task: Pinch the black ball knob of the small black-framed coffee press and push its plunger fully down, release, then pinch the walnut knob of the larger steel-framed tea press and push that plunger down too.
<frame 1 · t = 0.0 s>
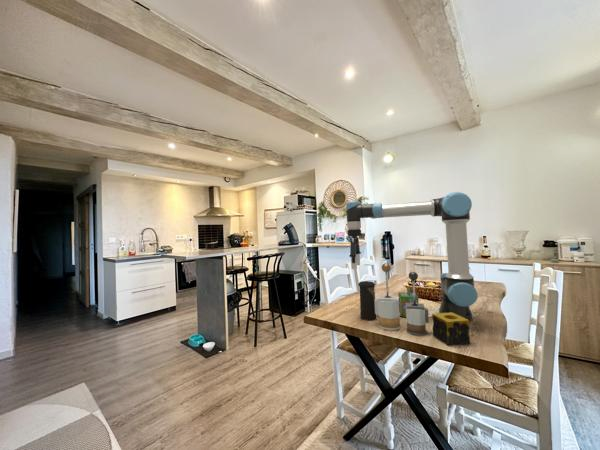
hand: (356, 267, 138), 28 cm above the table, fingers open, 13 cm apart
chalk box: (409, 315, 137), on the table
plunger large: (386, 280, 124), point 23 cm above the table, slide at 0.0 cm
dark box with hole: (450, 340, 106), on the table
container: (368, 318, 135), on the table
press large: (389, 326, 123), on the table
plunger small: (414, 289, 116), point 20 cm above the table, slide at 0.0 cm
press small: (416, 331, 115), on the table
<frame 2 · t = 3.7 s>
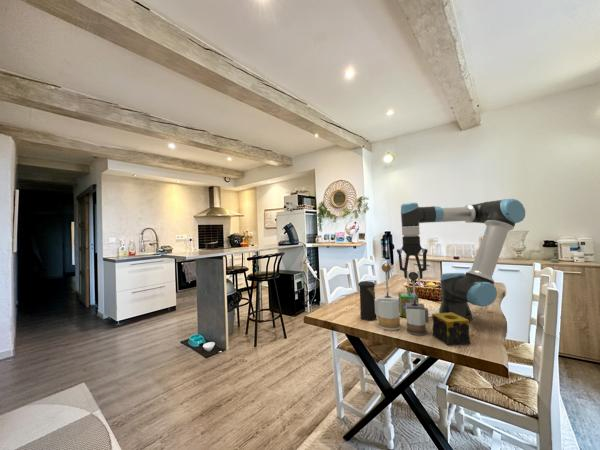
hand: (413, 285, 116), 22 cm above the table, fingers closed on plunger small, 4 cm apart
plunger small: (414, 289, 116), point 20 cm above the table, slide at 0.0 cm, touching gripper
everything else where it was.
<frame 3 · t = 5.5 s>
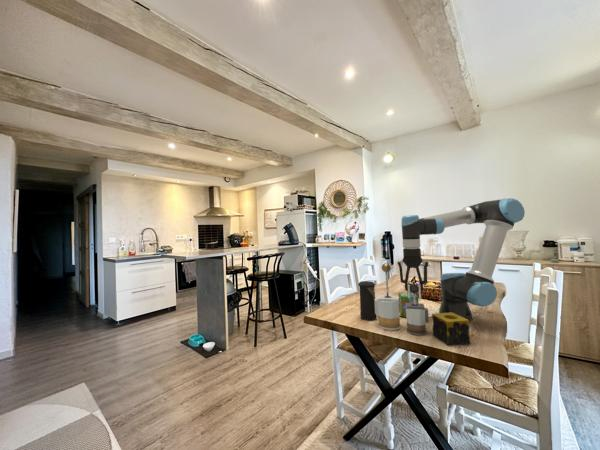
hand: (414, 297, 115), 16 cm above the table, fingers closed on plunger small, 4 cm apart
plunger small: (414, 301, 115), point 14 cm above the table, slide at 5.8 cm, touching gripper
everything else where it was.
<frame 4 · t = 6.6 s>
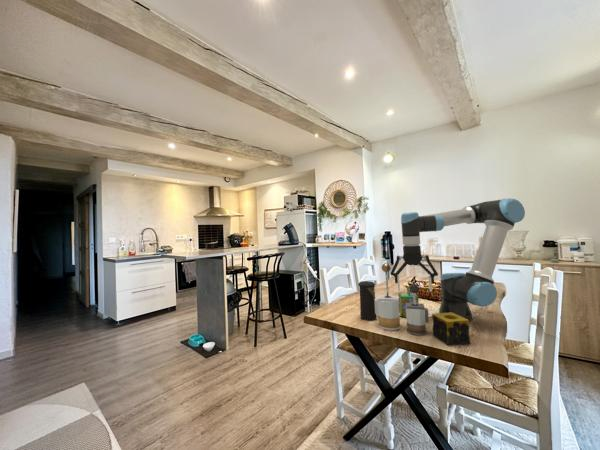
hand: (414, 290, 116), 19 cm above the table, fingers open, 13 cm apart
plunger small: (414, 301, 115), point 14 cm above the table, slide at 5.8 cm
everything else where it was.
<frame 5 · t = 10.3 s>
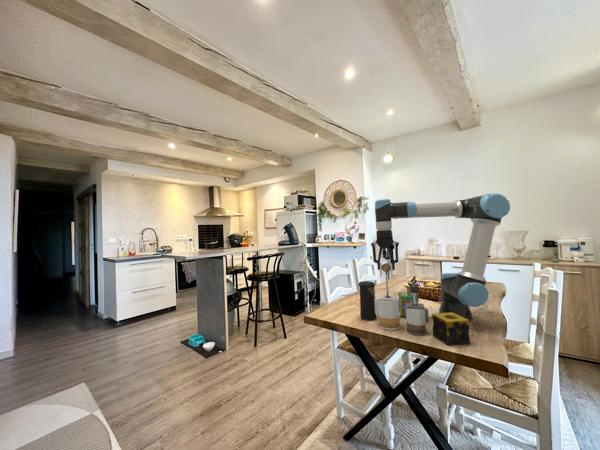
hand: (386, 276, 124), 25 cm above the table, fingers closed on plunger large, 4 cm apart
plunger large: (386, 281, 124), point 23 cm above the table, slide at 0.0 cm, touching gripper
everything else where it was.
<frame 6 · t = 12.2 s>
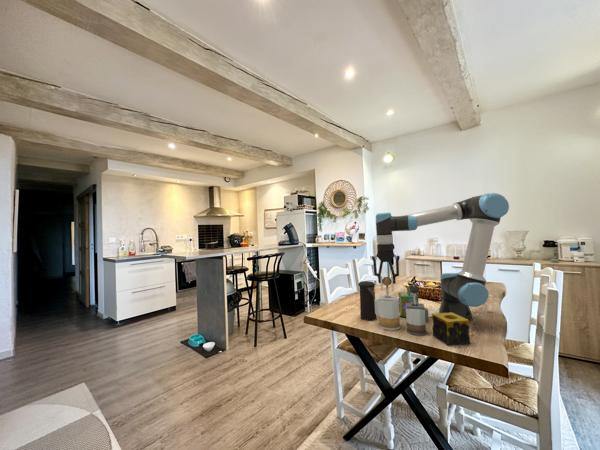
hand: (387, 289, 123), 18 cm above the table, fingers closed on plunger large, 4 cm apart
plunger large: (387, 294, 123), point 16 cm above the table, slide at 6.8 cm, touching gripper
everything else where it was.
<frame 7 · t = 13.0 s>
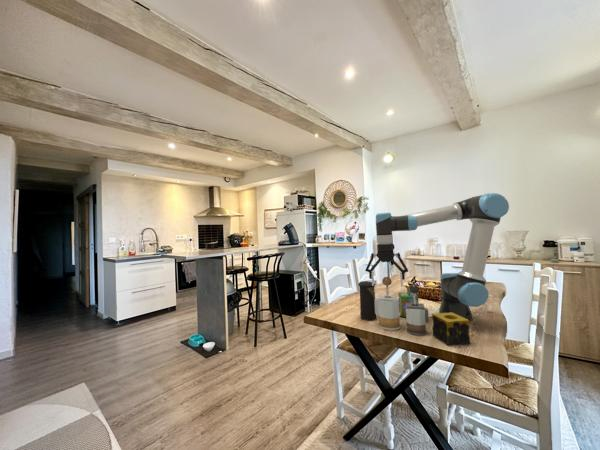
hand: (387, 285, 124), 20 cm above the table, fingers open, 13 cm apart
plunger large: (387, 294, 123), point 16 cm above the table, slide at 6.8 cm
everything else where it was.
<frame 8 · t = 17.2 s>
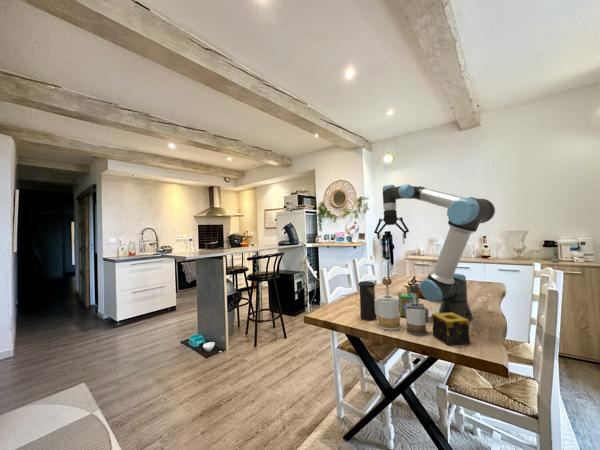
hand: (391, 244, 153), 39 cm above the table, fingers open, 13 cm apart
nothing on the table moved.
at the end: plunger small slide at 5.8 cm; plunger large slide at 6.8 cm; the gripper is holding nothing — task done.
